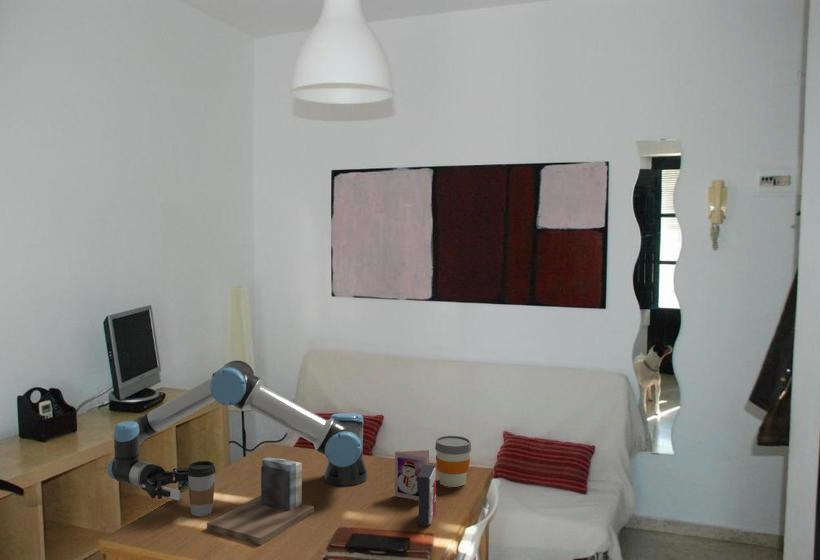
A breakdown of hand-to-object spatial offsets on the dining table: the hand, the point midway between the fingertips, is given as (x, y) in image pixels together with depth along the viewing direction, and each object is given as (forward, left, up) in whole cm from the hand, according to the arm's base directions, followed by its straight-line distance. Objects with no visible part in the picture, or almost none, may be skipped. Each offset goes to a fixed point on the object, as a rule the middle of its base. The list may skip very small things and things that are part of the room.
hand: (196, 488), depth 206 cm
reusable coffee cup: (-85, -10, -8) cm, 86 cm away
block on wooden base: (-20, +10, -8) cm, 23 cm away
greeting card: (-69, -1, -8) cm, 69 cm away
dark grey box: (-69, +18, -8) cm, 71 cm away
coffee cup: (-2, +1, -8) cm, 8 cm away
